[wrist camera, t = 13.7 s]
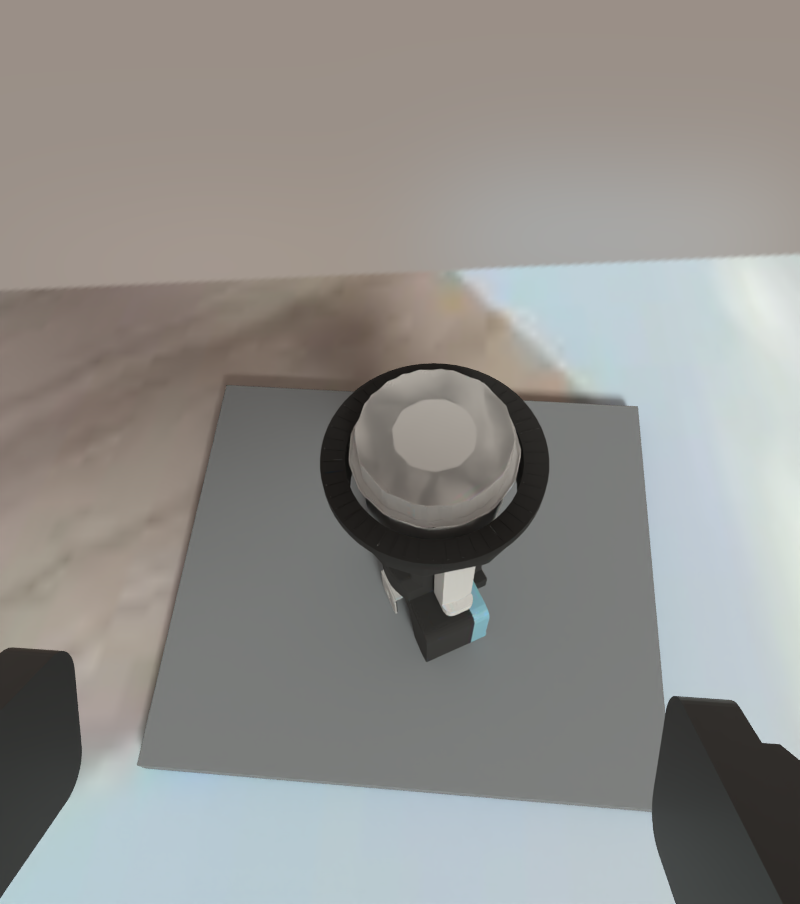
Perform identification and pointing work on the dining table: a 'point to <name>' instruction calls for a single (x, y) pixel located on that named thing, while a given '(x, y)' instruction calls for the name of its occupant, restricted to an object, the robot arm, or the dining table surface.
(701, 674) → the dining table surface
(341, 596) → the rubber mat
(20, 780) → the robot arm
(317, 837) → the dining table surface
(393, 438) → the push button
